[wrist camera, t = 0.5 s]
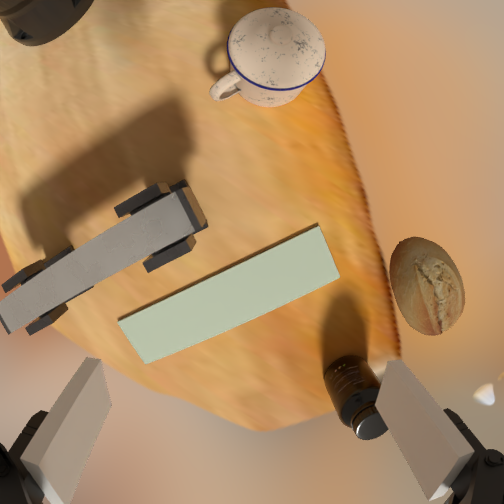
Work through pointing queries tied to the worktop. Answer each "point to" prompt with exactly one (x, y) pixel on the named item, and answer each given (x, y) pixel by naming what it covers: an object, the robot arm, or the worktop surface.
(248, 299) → the mat
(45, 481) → the robot arm
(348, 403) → the supplement bottle
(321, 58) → the teacup with lid
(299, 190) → the worktop surface
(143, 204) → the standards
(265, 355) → the worktop surface
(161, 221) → the rail
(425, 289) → the bread roll
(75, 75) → the worktop surface
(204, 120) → the worktop surface
